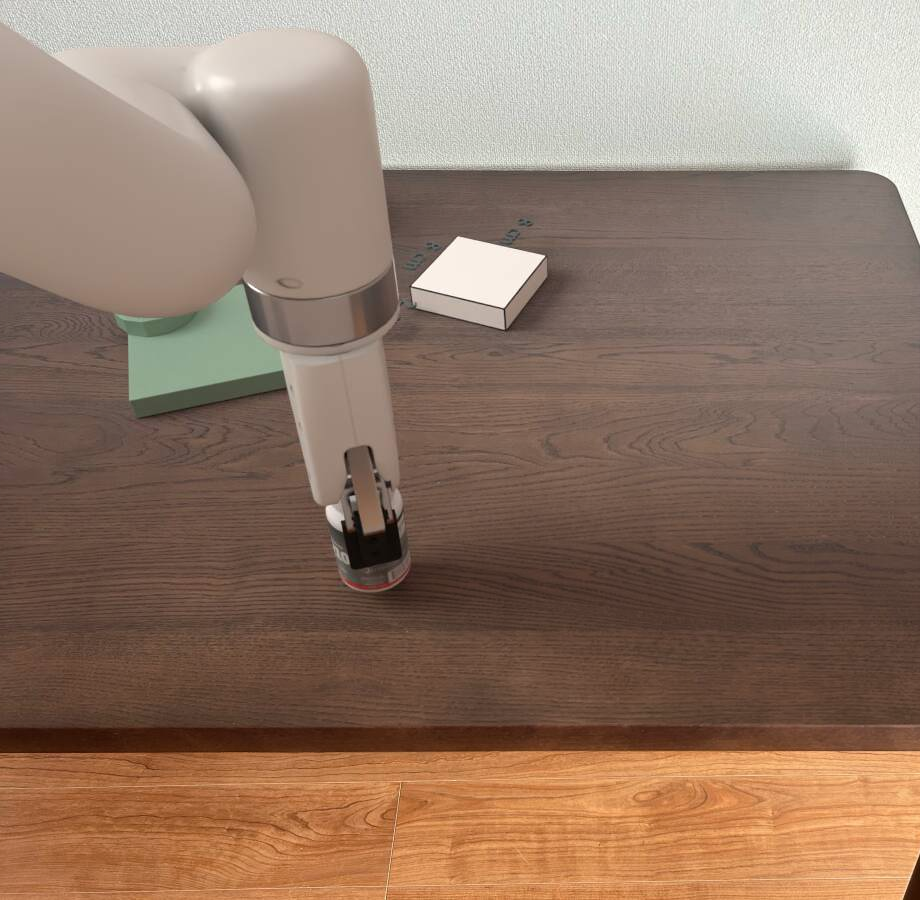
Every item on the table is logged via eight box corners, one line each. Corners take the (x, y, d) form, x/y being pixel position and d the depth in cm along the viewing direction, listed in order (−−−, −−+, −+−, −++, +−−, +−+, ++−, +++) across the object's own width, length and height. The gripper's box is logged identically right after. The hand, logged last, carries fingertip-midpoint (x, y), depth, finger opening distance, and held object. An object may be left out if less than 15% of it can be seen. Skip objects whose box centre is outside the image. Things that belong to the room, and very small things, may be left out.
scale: (126, 420, 77) (111, 387, 75) (125, 318, 88) (112, 285, 85) (337, 377, 82) (330, 344, 79) (313, 284, 92) (306, 252, 89)
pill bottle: (334, 551, 66) (313, 460, 60) (403, 534, 67) (389, 444, 61) (346, 603, 62) (325, 512, 57) (418, 584, 64) (405, 494, 58)
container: (479, 365, 83) (476, 340, 81) (363, 335, 86) (358, 311, 84) (569, 249, 97) (568, 226, 95) (466, 227, 100) (464, 203, 98)
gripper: (233, 221, 55) (292, 457, 67) (264, 404, 43) (329, 649, 55) (367, 202, 57) (400, 435, 69) (431, 373, 45) (457, 616, 57)
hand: (368, 528), depth 62 cm, fingers closed on pill bottle, 4 cm apart
